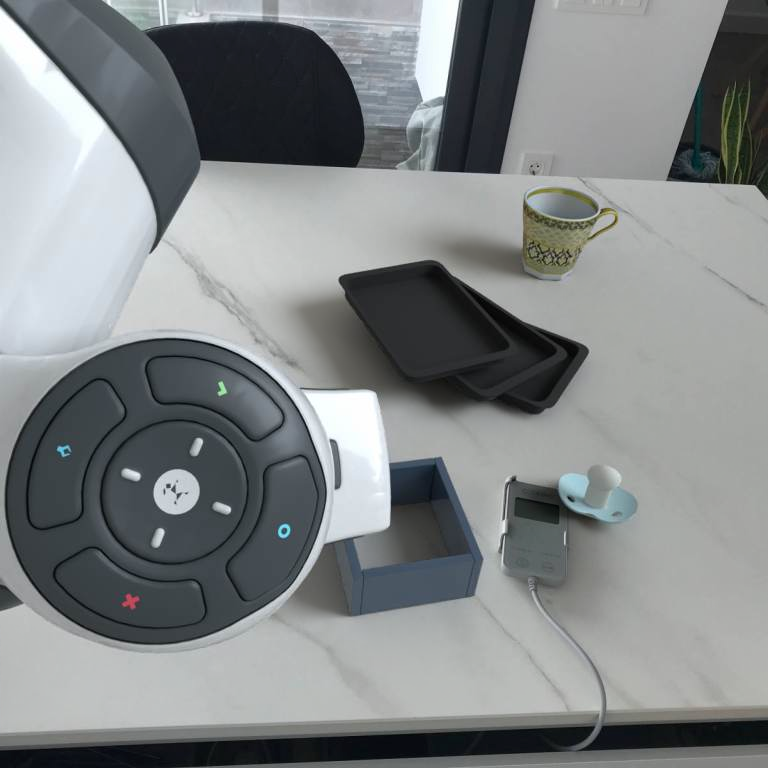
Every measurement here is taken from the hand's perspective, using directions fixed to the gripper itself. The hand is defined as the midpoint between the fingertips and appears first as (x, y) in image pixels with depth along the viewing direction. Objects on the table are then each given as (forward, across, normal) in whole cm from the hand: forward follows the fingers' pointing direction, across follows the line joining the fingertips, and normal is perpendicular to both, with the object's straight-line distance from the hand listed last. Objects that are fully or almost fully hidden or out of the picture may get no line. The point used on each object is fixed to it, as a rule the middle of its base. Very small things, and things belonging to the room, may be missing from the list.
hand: (191, 476), depth 46 cm
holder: (+19, +16, -8) cm, 27 cm away
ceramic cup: (+49, +50, +22) cm, 74 cm away
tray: (+38, +30, +10) cm, 49 cm away
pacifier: (+21, +36, -7) cm, 42 cm away
